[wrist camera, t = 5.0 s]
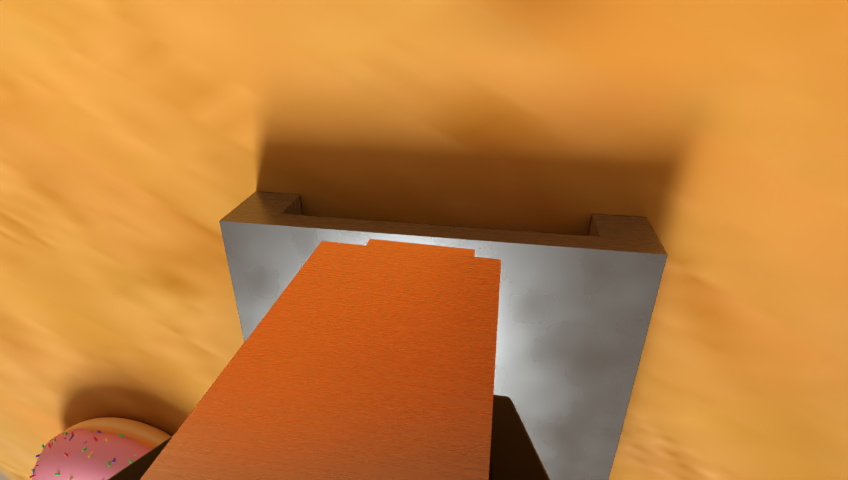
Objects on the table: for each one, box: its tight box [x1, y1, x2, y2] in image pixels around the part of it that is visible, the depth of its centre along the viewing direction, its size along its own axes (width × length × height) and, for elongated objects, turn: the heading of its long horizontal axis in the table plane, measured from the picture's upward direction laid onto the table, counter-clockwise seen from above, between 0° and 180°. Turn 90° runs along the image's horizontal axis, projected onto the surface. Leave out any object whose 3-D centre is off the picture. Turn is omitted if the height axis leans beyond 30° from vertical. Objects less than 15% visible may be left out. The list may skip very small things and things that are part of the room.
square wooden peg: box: [140, 239, 501, 480], centre depth 8 cm, size 4×4×10 cm
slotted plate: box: [220, 192, 667, 480], centre depth 23 cm, size 16×16×3 cm
